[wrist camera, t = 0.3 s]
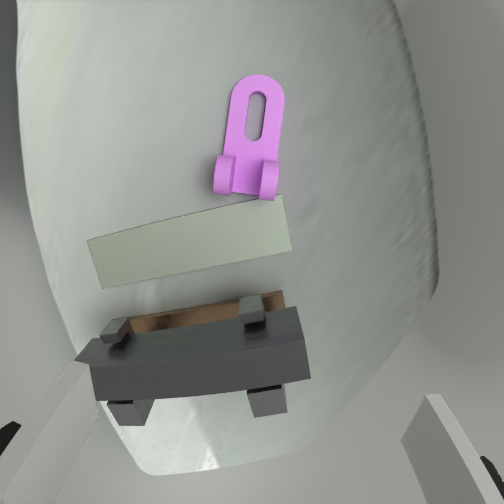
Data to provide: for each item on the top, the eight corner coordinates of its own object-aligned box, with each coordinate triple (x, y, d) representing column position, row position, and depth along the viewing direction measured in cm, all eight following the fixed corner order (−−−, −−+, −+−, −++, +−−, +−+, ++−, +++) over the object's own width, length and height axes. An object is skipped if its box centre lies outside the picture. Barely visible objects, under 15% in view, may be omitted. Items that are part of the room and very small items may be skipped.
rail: (92, 338, 31) (67, 368, 26) (295, 306, 30) (304, 339, 24) (105, 368, 32) (85, 400, 27) (302, 341, 31) (310, 378, 25)
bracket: (270, 195, 35) (274, 203, 28) (220, 189, 35) (211, 195, 28) (286, 81, 32) (293, 63, 25) (235, 75, 32) (231, 56, 25)
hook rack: (120, 296, 39) (68, 355, 25) (277, 266, 37) (288, 325, 24) (146, 361, 41) (111, 431, 28) (291, 339, 40) (305, 416, 26)
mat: (88, 240, 37) (86, 240, 36) (280, 194, 35) (281, 194, 35) (103, 287, 38) (102, 288, 38) (291, 249, 37) (292, 250, 36)
